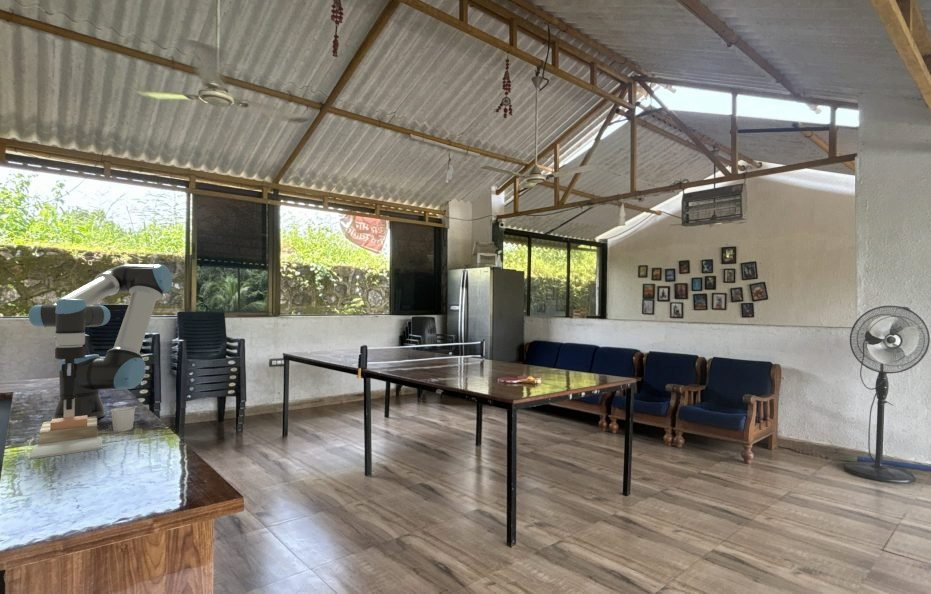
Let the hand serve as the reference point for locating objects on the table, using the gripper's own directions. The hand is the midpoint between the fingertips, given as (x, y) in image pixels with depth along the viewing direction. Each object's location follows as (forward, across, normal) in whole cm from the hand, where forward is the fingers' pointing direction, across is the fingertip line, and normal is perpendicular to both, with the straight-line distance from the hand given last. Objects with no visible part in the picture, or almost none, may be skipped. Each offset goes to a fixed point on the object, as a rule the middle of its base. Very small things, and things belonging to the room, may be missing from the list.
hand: (68, 419), depth 160 cm
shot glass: (+6, -1, +14) cm, 16 cm away
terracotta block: (+2, +4, 0) cm, 4 cm away
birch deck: (+6, 0, 0) cm, 6 cm away
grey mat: (+6, +16, 0) cm, 17 cm away
